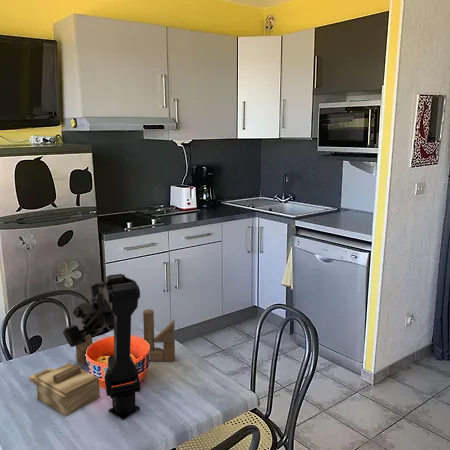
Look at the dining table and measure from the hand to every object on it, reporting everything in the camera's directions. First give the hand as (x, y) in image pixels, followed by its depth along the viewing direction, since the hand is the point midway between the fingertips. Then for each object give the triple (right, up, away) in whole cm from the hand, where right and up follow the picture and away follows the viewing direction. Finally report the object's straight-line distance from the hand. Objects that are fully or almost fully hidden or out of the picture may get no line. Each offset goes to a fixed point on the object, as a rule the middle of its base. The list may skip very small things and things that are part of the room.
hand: (81, 340), depth 161 cm
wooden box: (-2, -11, -18) cm, 21 cm away
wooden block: (+26, -8, +3) cm, 28 cm away
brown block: (+1, -8, +1) cm, 8 cm away
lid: (+3, -6, -23) cm, 24 cm away
